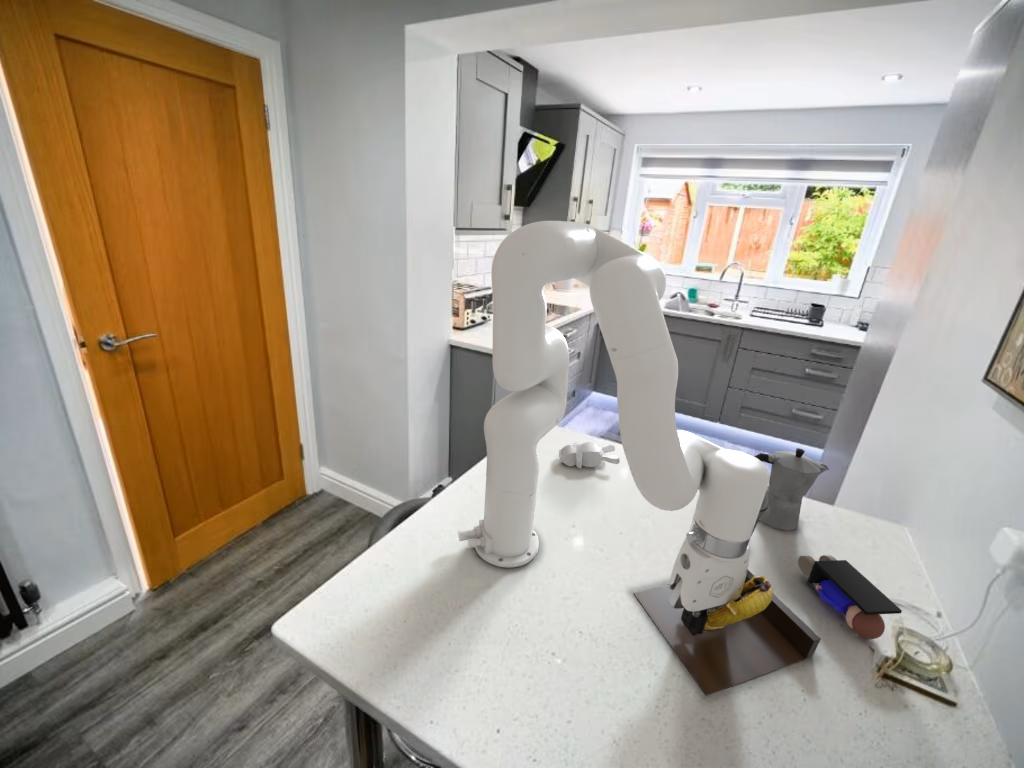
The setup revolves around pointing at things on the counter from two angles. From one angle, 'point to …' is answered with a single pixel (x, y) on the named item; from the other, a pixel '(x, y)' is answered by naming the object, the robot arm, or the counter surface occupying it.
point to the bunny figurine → (586, 455)
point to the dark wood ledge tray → (732, 641)
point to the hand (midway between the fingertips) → (691, 626)
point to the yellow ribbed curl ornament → (742, 604)
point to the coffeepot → (788, 486)
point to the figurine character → (849, 594)
